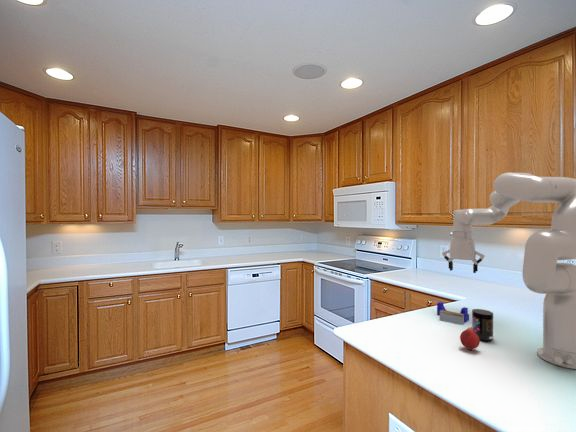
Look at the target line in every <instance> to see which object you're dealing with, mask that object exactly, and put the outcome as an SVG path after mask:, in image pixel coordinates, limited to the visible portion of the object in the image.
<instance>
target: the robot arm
mask: <svg viewBox="0 0 576 432" xmlns="http://www.w3.org/2000/svg"><path fill="white" fill-rule="evenodd" d="M495 178H496V179H494V181H493V190H494V191H492V192H491V193H490V195H489V202H490V203H491V206H489V207H487V208H465V209H455V210H454V211H453V218H452V219H453V220H452V221H453V226H452V227H453V228H452V229H453V232H450V233H449V235H450V236H452V237H451V239H450V244H449V245H450V246H449V250H448V249H447V250H445V251H443V252H442V256H443V257H444V259H445V260H446V261H447V263H448V269H449V271H453V270H454V262H453V260H463V261H471V262H472V263H473V264H472V265H473V266H472V268H473V269H472V273H474V274H476V273H477V272H478V271H479V270H478V268H479V267H478V265H479V264H480V263H481V262H482V261H483V259H485V257H486V256H485V254H484V253H480V252H479V251H477V250H476V245H475V239H474V238H473V232H472V231H473V226H491V225H493V224H495V223H497V222H499V221H501V220H503V219H504V218H505V217H507V215H508V213H509V210H510V208H511V207H513V206H514V205H516V204H518V203H519V202H521V201H523V202H528V203H529V202H530V203H556V204H557V203H558V204H559V205H558V206H557V208H556V209H555V211H554V212H553V214H552V217H551V225H550V229H545V230H538V231H536V232H533V233H532V234H530V235H529V236H528V238H527V240H526V243H525V245H524V246H525V247H524V253H523V255H524V256H523V261H522V262H523V264H522V280H523V283H524V285H525V287H526V288H527V289H528V290H530V291H531V292H533V293H536V294H543V295H544V294H545V296H544V298H543V302H542V304H543V305H542V307H543V308H542V328H543V329H542V347H541V348H538V349H536V354H537V356H538V357H539V358H541V360H544V361H545V362H547V363H550V364H552V365H556V366H559V367H562V368H566V369H571V370H576V264H572V263H567V262H558V261H569V260H576V178H573V177H567V176H566V177H565V176H564V177H563V176H536V175H535V174H532V173H528V172H505V173H504V172H503V173H501V174H499V175H498V176H497V177H495ZM448 254H449V256H448ZM476 255H477V256H479V259H476Z"/></svg>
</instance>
